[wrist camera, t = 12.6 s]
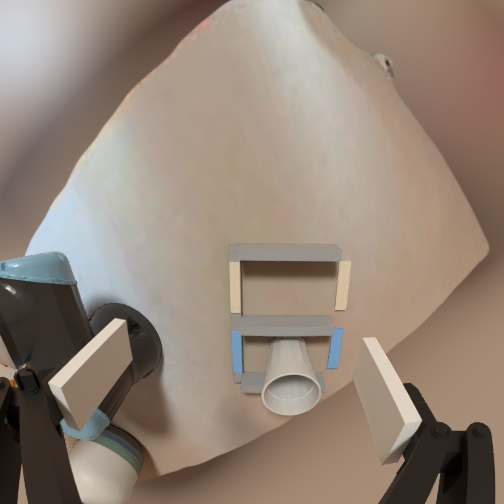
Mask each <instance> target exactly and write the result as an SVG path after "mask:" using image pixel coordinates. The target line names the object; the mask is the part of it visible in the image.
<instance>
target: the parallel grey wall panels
mask: <svg viewBox="0 0 504 504" xmlns="http://www.w3.org/2000/svg"><path fill="white" fill-rule="evenodd" d="M229 251H230V262H229V264H230V299H231V321H232V353H233V372H234V382H239V383H241V393H262V389H263V384H264V379H265V374H266V373H249V372H243V349H242V335H243V336H331V344H330V351H329V358H328V364H327V369H332V368H337V366H338V360H339V354H340V348H341V342H342V335H343V328H341V329H334V325H333V322H332V320H331V317H330V315H314V316H273V315H242V300H241V260H251V261H339V269H338V281H337V292H336V302H335V310H346V305H347V296H348V287H349V277H350V266H351V261H341V253H342V250H341V249H340V248H338V247H337V246H336V245H335V244H255V243H230V245H229ZM316 376H317V379H318V381H319V384H320V387H321V393H324V391H325V382H324V378H323V374H322V372H318V373H316Z"/></svg>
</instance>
